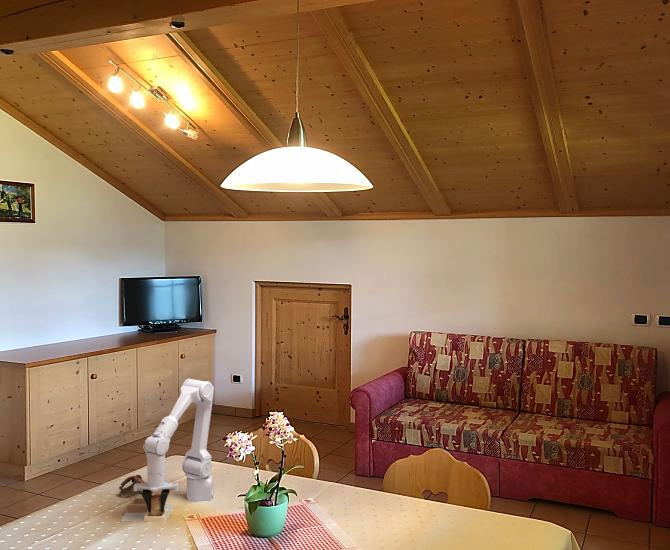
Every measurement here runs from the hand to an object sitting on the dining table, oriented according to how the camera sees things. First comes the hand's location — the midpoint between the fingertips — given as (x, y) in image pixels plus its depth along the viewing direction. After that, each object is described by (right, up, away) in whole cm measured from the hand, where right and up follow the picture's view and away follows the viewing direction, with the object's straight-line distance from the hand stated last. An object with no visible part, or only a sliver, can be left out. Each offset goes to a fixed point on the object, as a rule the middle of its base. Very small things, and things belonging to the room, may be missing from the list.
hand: (156, 511), depth 227 cm
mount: (-4, -3, +4) cm, 6 cm away
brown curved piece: (-13, -2, +22) cm, 26 cm away
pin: (0, -2, 0) cm, 2 cm away
